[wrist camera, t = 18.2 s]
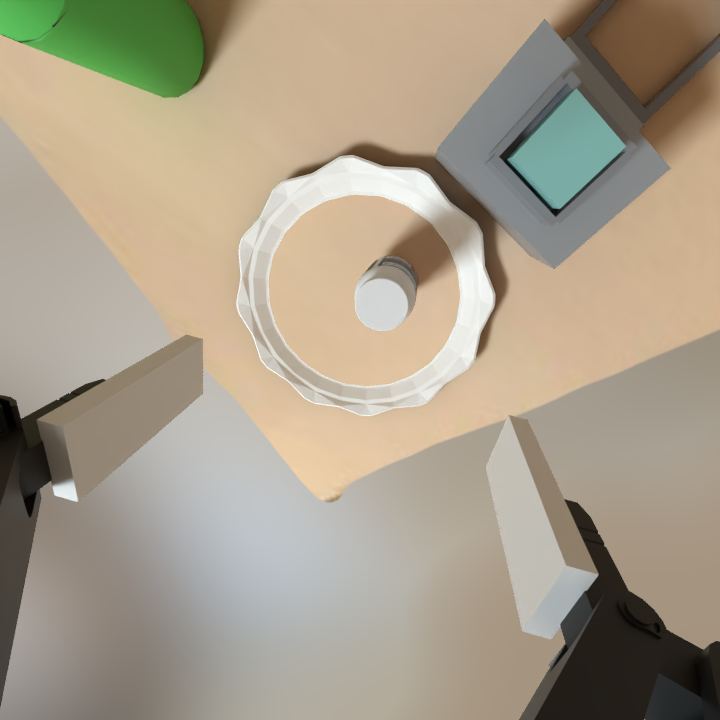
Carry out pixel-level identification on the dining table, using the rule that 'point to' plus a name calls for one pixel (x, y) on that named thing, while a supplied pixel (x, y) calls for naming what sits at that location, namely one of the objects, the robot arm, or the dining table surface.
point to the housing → (526, 110)
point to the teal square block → (564, 151)
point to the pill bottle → (386, 293)
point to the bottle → (114, 38)
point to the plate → (397, 186)
